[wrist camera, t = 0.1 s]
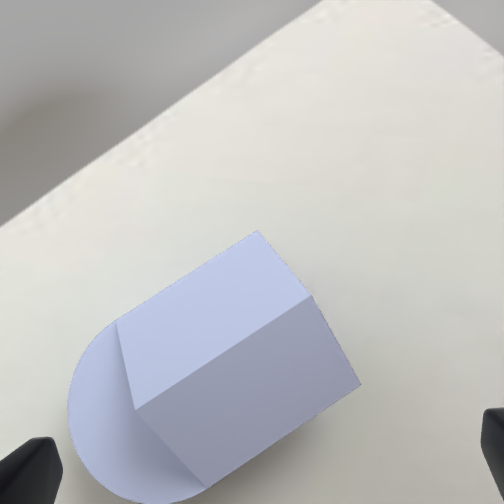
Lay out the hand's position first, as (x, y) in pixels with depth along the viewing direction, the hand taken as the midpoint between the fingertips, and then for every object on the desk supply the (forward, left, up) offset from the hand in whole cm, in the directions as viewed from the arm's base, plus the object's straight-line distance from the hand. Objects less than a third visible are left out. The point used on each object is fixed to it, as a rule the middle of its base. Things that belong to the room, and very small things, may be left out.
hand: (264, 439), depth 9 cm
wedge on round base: (+3, +3, -15) cm, 16 cm away
